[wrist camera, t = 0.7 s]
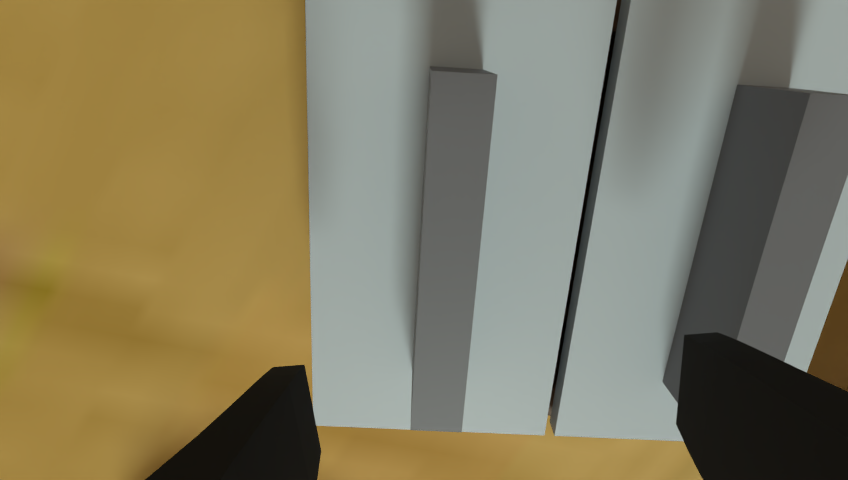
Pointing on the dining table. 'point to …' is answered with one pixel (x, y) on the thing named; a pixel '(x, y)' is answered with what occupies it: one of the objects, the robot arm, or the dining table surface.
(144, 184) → the dining table surface
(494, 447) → the dining table surface
